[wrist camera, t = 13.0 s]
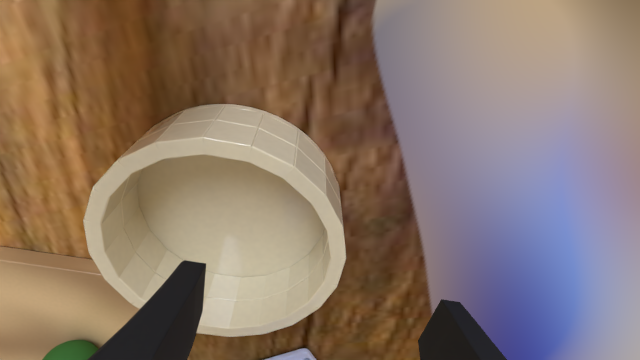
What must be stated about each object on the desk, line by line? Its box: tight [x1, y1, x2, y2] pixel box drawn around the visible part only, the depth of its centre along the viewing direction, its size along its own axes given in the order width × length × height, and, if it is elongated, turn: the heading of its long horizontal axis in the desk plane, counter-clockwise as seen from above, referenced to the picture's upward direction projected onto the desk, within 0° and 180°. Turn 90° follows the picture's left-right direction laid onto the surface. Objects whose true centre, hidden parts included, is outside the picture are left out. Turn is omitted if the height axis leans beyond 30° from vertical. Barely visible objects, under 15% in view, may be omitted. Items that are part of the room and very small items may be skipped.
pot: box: [83, 104, 346, 337], centre depth 20 cm, size 13×13×4 cm
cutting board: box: [0, 246, 139, 360], centre depth 28 cm, size 20×12×1 cm, turn 168°
